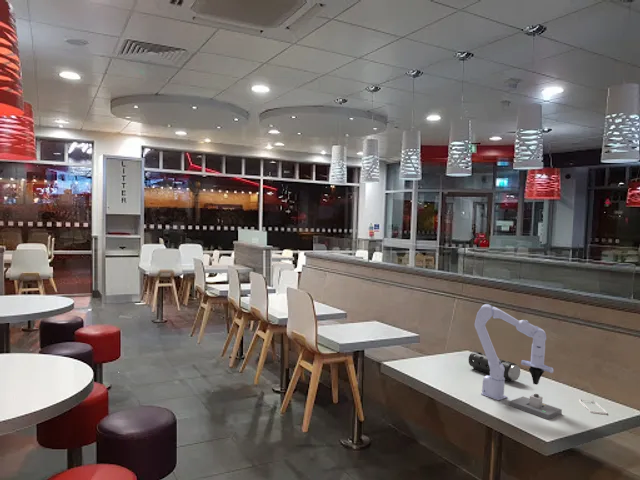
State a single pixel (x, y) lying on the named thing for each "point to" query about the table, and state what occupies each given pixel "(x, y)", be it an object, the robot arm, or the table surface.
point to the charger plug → (535, 401)
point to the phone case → (593, 411)
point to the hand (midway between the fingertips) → (535, 383)
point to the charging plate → (543, 412)
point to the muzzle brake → (482, 364)
